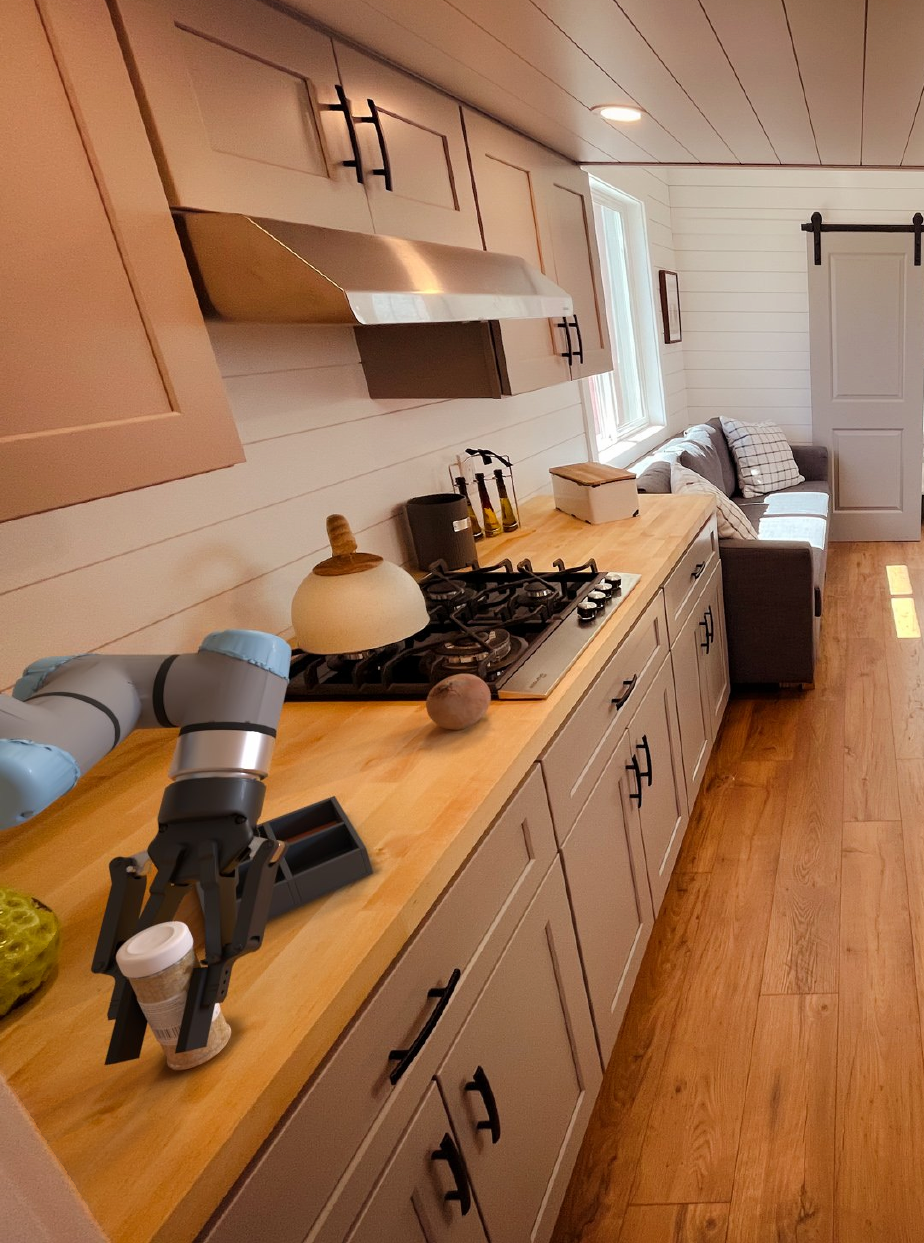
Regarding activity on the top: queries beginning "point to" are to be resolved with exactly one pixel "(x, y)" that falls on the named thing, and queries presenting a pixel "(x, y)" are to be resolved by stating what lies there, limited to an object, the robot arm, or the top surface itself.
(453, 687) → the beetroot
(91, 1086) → the top surface
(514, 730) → the top surface
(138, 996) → the spice jar
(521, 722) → the top surface
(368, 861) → the grid
